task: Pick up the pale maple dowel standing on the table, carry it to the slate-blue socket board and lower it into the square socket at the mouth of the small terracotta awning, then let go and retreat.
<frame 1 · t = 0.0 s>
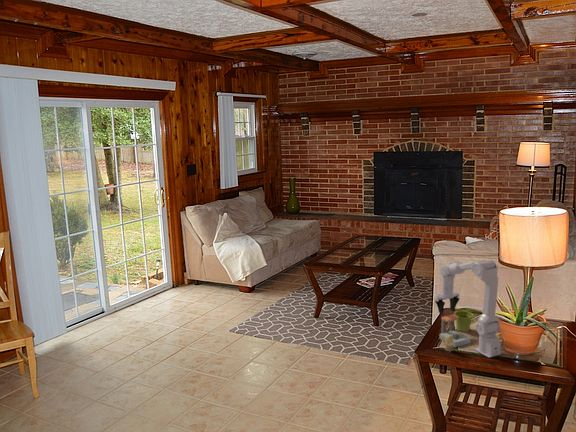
hand: (446, 311, 270), 10 cm above the table, fingers open, 7 cm apart
peg: (448, 350, 249), on the table
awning: (449, 335, 265), on the table
plant pot: (463, 330, 272), on the table
socket board: (454, 340, 259), on the table
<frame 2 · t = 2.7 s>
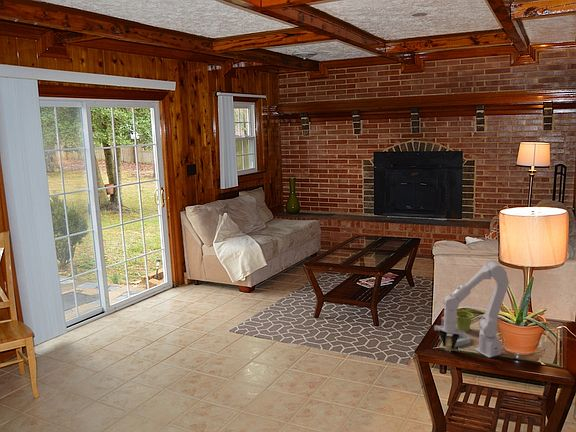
hand: (449, 346, 248), 2 cm above the table, fingers closed on peg, 4 cm apart
peg: (448, 350, 249), on the table, touching gripper
everything else where it was.
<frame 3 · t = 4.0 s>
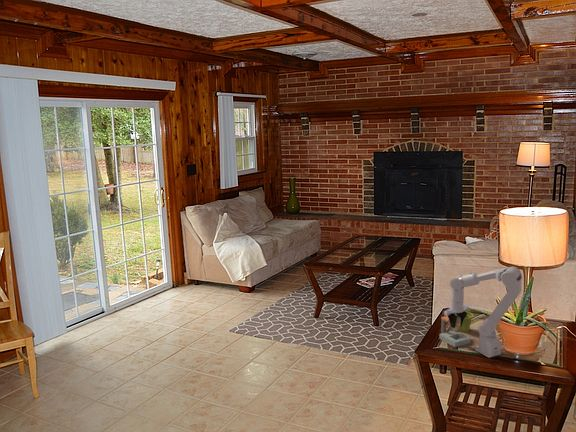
hand: (456, 326, 254), 9 cm above the table, fingers closed on peg, 4 cm apart
peg: (456, 330, 255), point 7 cm above the table, touching gripper
everything else where it was.
when the fingers open (3 cm above the table, at t = 5.5 s): peg stays where it is, resting in socket board.
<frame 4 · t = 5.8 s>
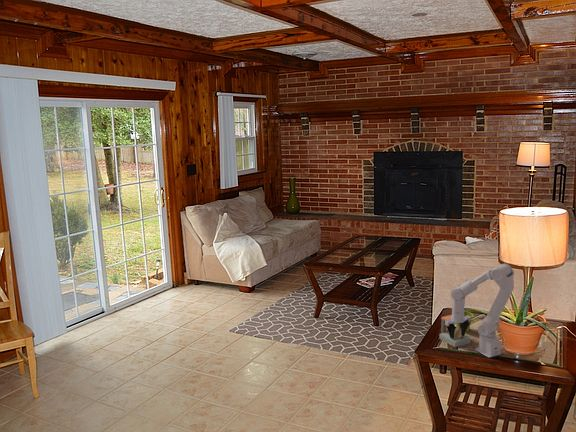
hand: (457, 336, 257), 3 cm above the table, fingers open, 6 cm apart
peg: (457, 342, 258), resting in socket board
everything else where it was.
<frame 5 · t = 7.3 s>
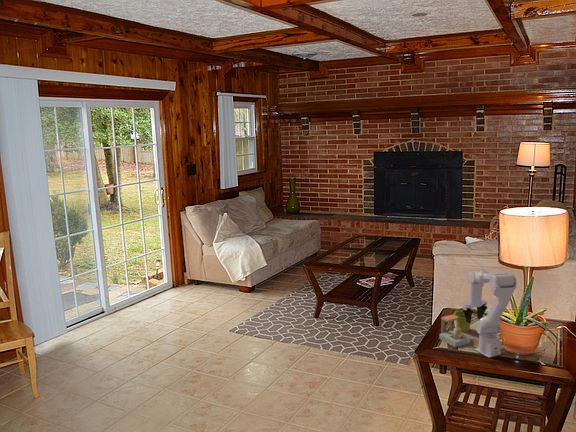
hand: (474, 320, 258), 10 cm above the table, fingers open, 7 cm apart
nothing on the table moved.
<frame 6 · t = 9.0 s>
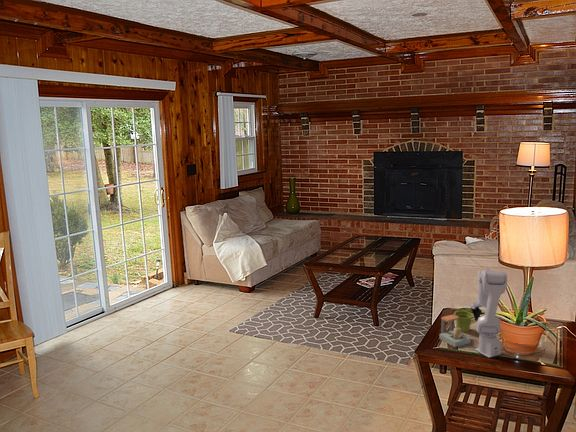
hand: (482, 319, 259), 10 cm above the table, fingers open, 7 cm apart
nothing on the table moved.
at the end: peg 0.2 cm from the target spot on the socket board, point 0.0 cm above the socket board's base; peg tilted 0°; the gripper is holding nothing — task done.
